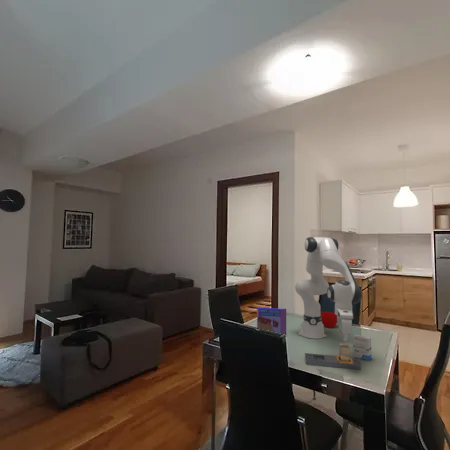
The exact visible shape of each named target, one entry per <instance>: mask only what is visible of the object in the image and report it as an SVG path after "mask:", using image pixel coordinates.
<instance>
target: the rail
mask: <svg viewBox="0 0 450 450" xmlns="http://www.w3.org/2000/svg"><path fill="white" fill-rule="evenodd" d="M304 360H305V365H306V364H310V365H309V366H315V365H318V367H326V366H327V367H328V368H336V369H337V368H340V369H350V370H360V371H361V370H362V365H361V363H360V361H359V358H357V357H354V356H349V361H340V354H338V355H337V354H336V355H331V354H320V353H319V354H318V353H304ZM327 367H326V368H327Z"/></svg>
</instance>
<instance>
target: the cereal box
mask: <svg viewBox="0 0 450 450" xmlns="http://www.w3.org/2000/svg"><path fill="white" fill-rule="evenodd" d="M257 328H260V329H264V330H269V331H273V332H277V333H281V334H285V335H286V336H287V308H279V307H278V308H275V307H274V308H273V307H257V308H256V329H257Z"/></svg>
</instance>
